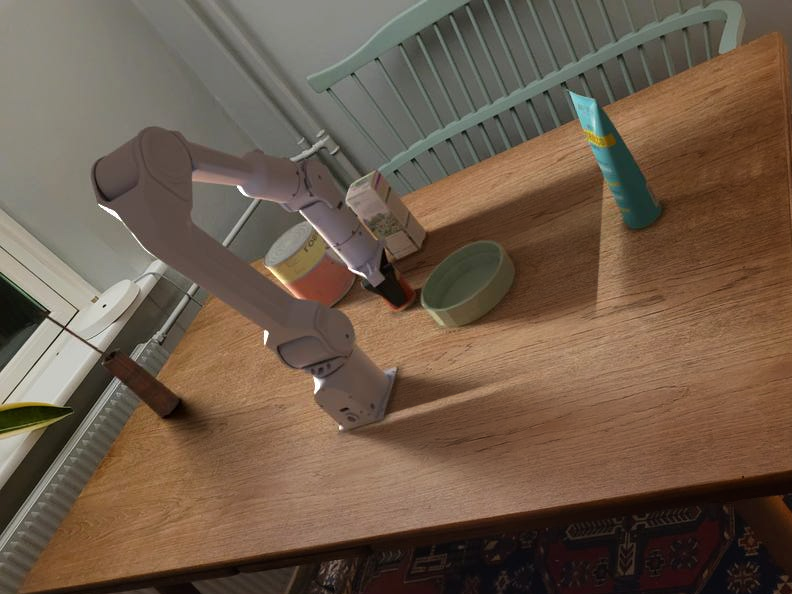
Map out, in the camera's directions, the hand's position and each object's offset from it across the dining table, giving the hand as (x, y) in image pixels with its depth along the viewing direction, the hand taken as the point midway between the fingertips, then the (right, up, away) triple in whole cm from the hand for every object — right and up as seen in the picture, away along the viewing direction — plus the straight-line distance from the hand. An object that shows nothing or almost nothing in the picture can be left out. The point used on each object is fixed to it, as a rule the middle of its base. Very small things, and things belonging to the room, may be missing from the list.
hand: (399, 296), depth 111 cm
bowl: (+12, -1, -8) cm, 15 cm away
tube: (+35, +8, -19) cm, 40 cm away
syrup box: (+1, +10, +13) cm, 16 cm away
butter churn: (-47, -18, +25) cm, 56 cm away
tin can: (+1, -1, +1) cm, 2 cm away
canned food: (-15, +3, +20) cm, 25 cm away
